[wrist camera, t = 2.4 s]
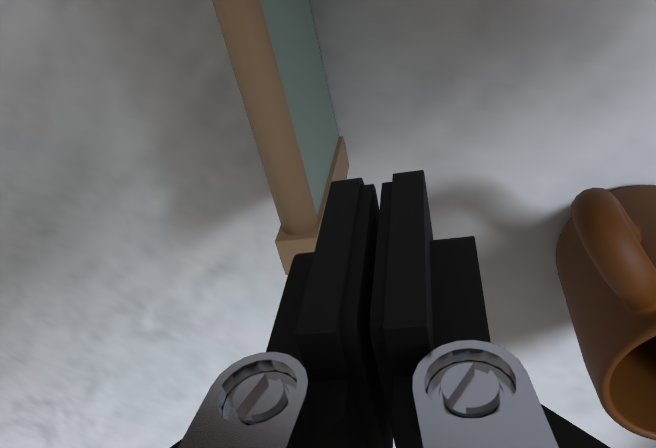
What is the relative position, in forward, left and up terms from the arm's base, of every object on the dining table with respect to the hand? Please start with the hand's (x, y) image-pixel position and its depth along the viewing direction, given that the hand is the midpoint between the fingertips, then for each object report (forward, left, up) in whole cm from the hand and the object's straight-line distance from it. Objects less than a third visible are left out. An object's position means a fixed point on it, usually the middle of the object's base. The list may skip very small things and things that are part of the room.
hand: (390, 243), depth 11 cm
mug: (-4, +14, -17) cm, 22 cm away
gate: (+4, -2, -16) cm, 17 cm away
